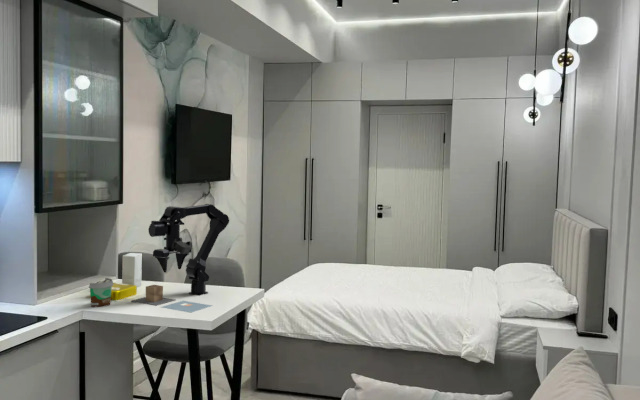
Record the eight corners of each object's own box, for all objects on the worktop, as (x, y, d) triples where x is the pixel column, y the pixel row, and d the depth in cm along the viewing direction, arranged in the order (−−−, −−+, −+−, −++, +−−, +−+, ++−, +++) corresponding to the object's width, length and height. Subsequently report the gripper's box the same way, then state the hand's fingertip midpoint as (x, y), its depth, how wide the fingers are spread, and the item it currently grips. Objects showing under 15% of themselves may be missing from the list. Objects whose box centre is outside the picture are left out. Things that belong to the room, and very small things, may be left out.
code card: (183, 301, 253) (183, 300, 252) (212, 306, 245) (212, 305, 245) (160, 307, 240) (160, 307, 240) (190, 313, 233) (190, 312, 233)
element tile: (138, 294, 264) (138, 284, 264) (117, 301, 250) (117, 290, 250) (110, 291, 269) (110, 281, 269) (88, 298, 255) (88, 287, 254)
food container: (102, 308, 236) (102, 284, 235) (88, 307, 237) (89, 283, 236) (119, 302, 248) (119, 278, 247) (105, 301, 249) (106, 277, 248)
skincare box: (129, 284, 283) (129, 252, 282) (142, 285, 282) (142, 253, 281) (121, 288, 275) (121, 255, 274) (134, 288, 274) (135, 255, 273)
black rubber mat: (151, 296, 260) (151, 295, 259) (176, 300, 253) (176, 299, 253) (131, 301, 249) (131, 300, 249) (156, 306, 242) (156, 305, 242)
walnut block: (154, 298, 254) (154, 284, 254) (162, 299, 252) (162, 286, 252) (145, 300, 250) (145, 286, 250) (154, 302, 248) (154, 288, 247)
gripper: (172, 238, 244) (171, 276, 245) (201, 234, 261) (200, 269, 262) (152, 236, 250) (151, 273, 250) (181, 232, 266) (181, 267, 267)
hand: (172, 270), depth 257 cm, fingers open, 9 cm apart
